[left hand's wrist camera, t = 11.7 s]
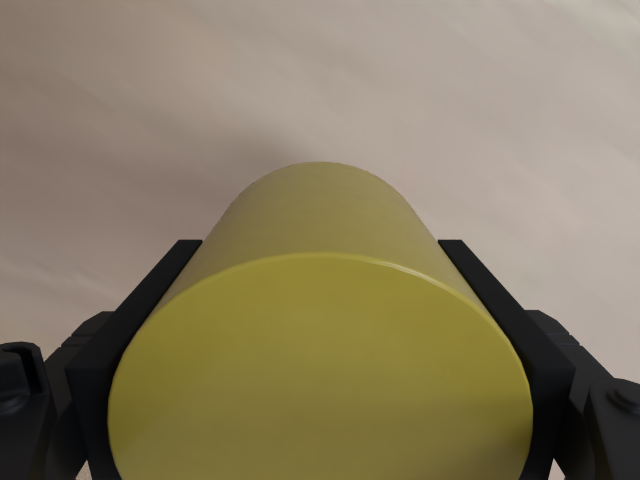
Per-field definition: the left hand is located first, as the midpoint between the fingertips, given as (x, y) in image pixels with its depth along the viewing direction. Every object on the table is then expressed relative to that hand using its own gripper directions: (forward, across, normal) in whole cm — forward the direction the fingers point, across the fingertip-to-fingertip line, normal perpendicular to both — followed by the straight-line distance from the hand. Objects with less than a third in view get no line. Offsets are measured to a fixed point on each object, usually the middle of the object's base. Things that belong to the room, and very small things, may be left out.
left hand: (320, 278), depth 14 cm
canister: (+1, 0, 0) cm, 1 cm away
